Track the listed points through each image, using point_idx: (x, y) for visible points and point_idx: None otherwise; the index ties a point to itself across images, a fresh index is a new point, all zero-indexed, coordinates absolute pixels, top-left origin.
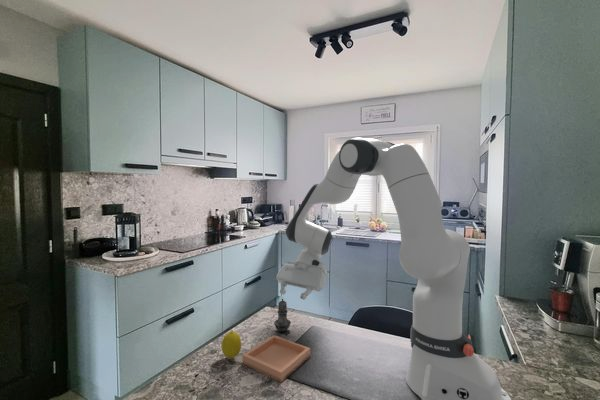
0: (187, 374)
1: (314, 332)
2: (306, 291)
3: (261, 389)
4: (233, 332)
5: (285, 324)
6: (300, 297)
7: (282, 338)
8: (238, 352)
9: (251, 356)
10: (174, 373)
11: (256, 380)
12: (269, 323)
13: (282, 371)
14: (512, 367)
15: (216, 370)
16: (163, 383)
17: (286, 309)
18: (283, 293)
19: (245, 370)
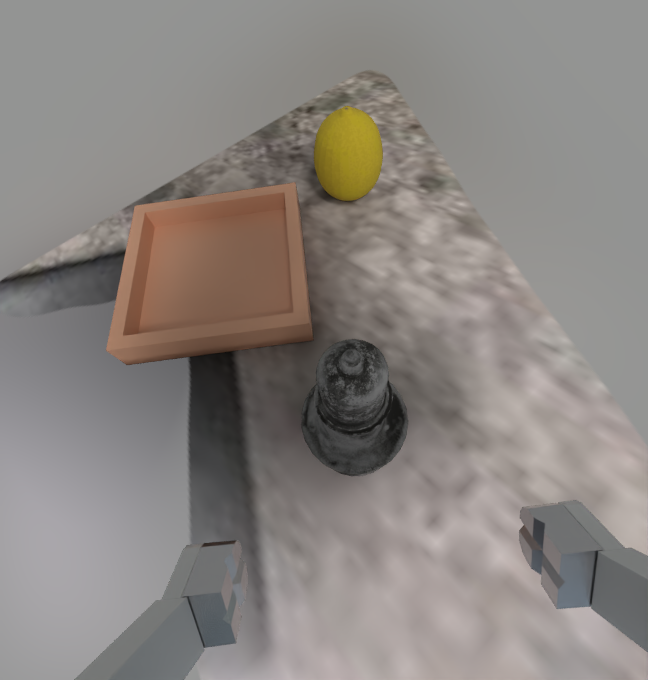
0: (372, 116)
1: None
2: (132, 632)
3: (180, 188)
4: (340, 115)
5: (313, 403)
6: (236, 542)
7: (255, 327)
8: (320, 183)
9: (265, 193)
10: (399, 103)
11: None
12: (502, 463)
13: (134, 209)
14: None
15: None
16: (379, 85)
17: (325, 407)
18: (527, 532)
19: None
